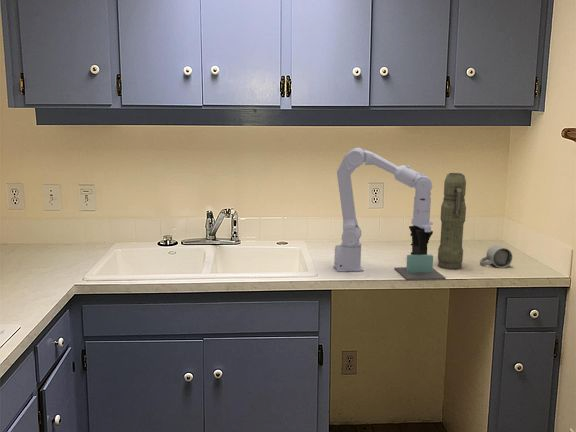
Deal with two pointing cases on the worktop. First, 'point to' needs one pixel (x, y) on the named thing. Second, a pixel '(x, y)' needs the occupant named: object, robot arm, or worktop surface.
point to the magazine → (417, 249)
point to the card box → (419, 263)
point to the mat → (419, 274)
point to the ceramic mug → (497, 257)
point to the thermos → (452, 222)
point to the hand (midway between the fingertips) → (419, 247)
